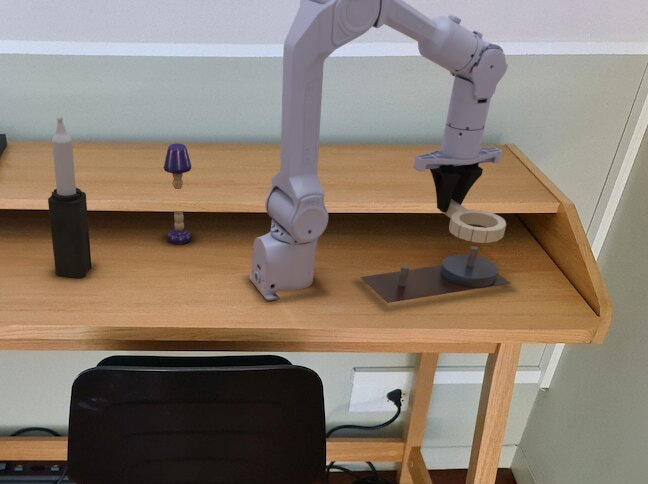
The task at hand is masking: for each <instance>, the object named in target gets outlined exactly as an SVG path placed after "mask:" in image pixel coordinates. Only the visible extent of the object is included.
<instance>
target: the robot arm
mask: <svg viewBox="0 0 648 484" xmlns="http://www.w3.org/2000/svg"><path fill="white" fill-rule="evenodd" d="M461 22H462V19H461V18H459V17H458V16H456V15H453V14H448V16H447V15H439V16H436V17H434V18H432V19H431V18H430V17H429V16H427V15H425V14H424V13H423V12H421V11H420V10H418V9H417V8H415V7H414V6H412V5H410V4H409V3H407V2H406V1H405V0H299V7H298V10H297V12H296V14H295V17H294V19H293V21H292V23H291V26H290V28H289V30H288V33H287V35H286V37H285V39H284V43H283V53H282V54H283V55H282V57H283V58H282V88H281V89H282V91H281V93H282V95H281V123H280V125H281V127H280V128H281V129H280V164H279V165H280V166H279V171H278V172H277V173H275V174H274V175H272V177H271V185H270V189H269V192H268V193H267V195H266V198H265V203H264V204H265V211H266V213H267V215H268V216H269V217H270V218H271V224H270V231H269V232H267V233H266V234H263V235H261V236H258V237H256V238H255V239H254V241H253V243H252V254H251V255H252V256H251V272H250V275H249V280H250V281H251V283H252V284H253V285H254V286H255V287H256V289H257V290H258V291H259V292H260V294H261V295H262V296H263V297H264V299H265V300H266V301H274V300H281V297H280V296H279V295H278V294H277V293H276V292H278V291H295V290H296V291H297V290H303V289H307V288H308V287H311V285H312V284H313V283H314V275H315V265H316V255H317V246H318V241H319V237H320V236H322V234H324V232H325V231H326V229H327V226H328V223H329V212H328V210H327V207H326V205H325V192H324V191H325V190H324V189H323V186H322V184H321V181H320V178H319V175H318V170H319V153H320V152H319V149H320V136H321V135H320V134H321V119H322V117H321V116H322V114H321V113H322V99H323V98H322V97H323V80H324V63H325V60H327V59H328V57H330V56H331V55H332V54H333V53H334V52H335V51H336V50H338V49H340V48H341V47H343V46H345V45H346V44H348V43H350V42H352V41H354V40H355V39H357V38H359V37H361V36H363V35H364V34H366V33H367V32H368V31H369V30H371V28H372V27H373V28H374V29H379V28H381V27H382V26H384V25H385V26H387V27H389V28H391V29H393V30H394V31H397V32H398V33H401V34H402V35H405V36H406V37H408V38H410V39H412V40H414V41H416V42H417V48H418V52H419V54H420V55H421V56H422V57H423V58H425V59H427V60H429V61H430V62H432V63H434V64H435V65H438V66H440V67H441V68H442V69H445V70H447V71H448V72H449V74H450V75H451V76H452V77H453V84H452V89H451V95H450V98H449V99H450V100H449V104H448V111H447V116H446V120H445V126H444V131H443V136H442V141H441V145H440V148H439V149H436V150H433V151H430V152H427V153H423V154H419V155H414V160H413V166H412V167H413V169H414V170H416V171H418V172H419V173H421V172H425V171H426V170H429V171H430V174H431V176H432V180H433V183H434V188H435V195H436V208H437V210H439V211H440V210H441V211H442V212H447V210H448V208H449V205H450V202H451V199H452V200H454V201H455V202H457V203H458V204H460V205H462V204H463V202H464V200H465V198H466V196H467V195H468V193H469V191H470V190H471V188H472V187H473V186H474V185H475V183H476V182H478V180H479V179H480V178H481V176H483V171H484V169H483V168H482V167H480V166H479V164H487V163H493V164H500V163H501V159H502V155H503V150H502V149H500V148H497V147H495V146H494V147H481V145H482V140H483V136H484V131H485V126H486V122H487V119H488V114H489V109H490V105H491V100H492V98H493V95H495V94H496V91H497V86H498V84H499V82H500V81H501V80H502V78H503V77H504V76H505V75H506V72H507V69H508V67H509V64H508V63H506V54H505V52H504V49H503V48H502V47H501V46H500V45H498V44H496V43H492V42H489V41H486V40H484V39H483V37H484V36H483V35H484V34H483V33H482V32H480V31H478V30H473V31H471V30H469V29H468V28H466V27H464V26H463V25H461ZM441 211H440V212H441ZM442 212H441V213H442ZM272 285H273V286H272Z"/></svg>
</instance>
